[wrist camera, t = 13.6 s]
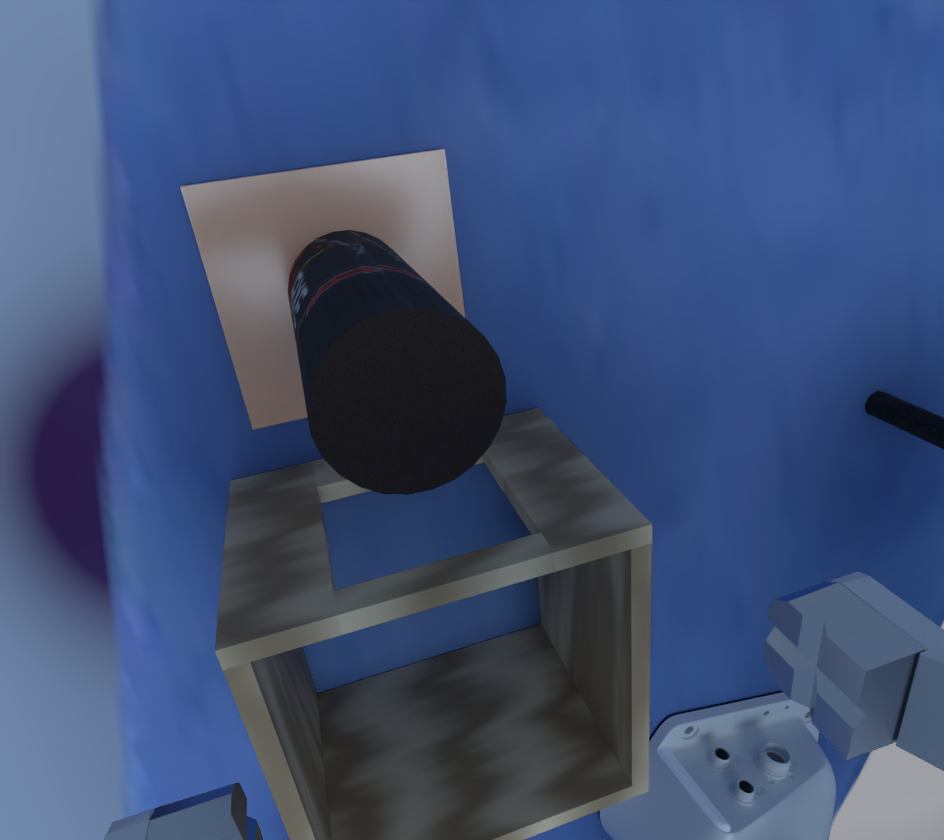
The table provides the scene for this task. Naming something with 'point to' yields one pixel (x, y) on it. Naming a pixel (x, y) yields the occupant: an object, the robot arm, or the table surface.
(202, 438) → the table surface
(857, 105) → the table surface
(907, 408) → the solar garden light
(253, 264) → the tile
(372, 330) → the deodorant
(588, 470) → the crate
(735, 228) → the table surface
